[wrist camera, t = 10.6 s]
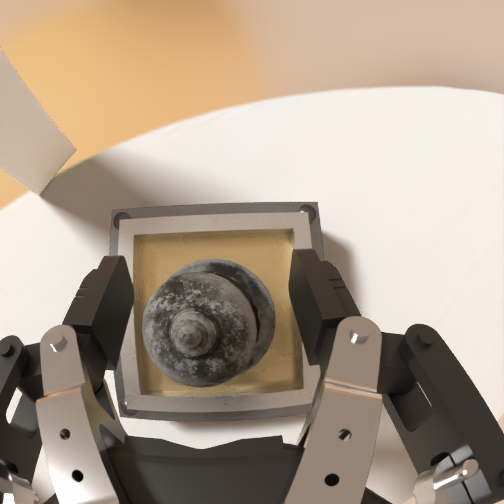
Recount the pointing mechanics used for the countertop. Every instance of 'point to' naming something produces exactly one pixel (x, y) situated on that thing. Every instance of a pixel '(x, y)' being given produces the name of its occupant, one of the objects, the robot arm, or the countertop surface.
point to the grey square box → (227, 248)
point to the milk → (28, 133)
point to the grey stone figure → (208, 323)
